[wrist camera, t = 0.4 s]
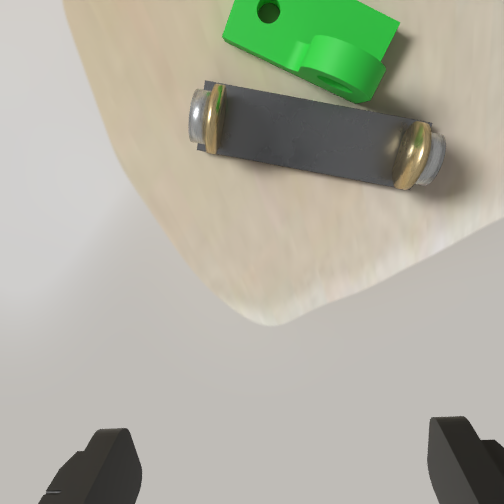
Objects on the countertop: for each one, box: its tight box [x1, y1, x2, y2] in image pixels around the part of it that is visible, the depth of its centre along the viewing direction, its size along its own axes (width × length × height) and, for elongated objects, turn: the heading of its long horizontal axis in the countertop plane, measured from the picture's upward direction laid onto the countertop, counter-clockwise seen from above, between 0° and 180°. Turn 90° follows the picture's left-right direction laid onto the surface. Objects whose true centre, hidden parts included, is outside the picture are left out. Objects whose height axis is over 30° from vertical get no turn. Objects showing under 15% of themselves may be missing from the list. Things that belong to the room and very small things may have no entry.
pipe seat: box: [189, 81, 446, 190], centre depth 28 cm, size 6×19×6 cm, turn 80°
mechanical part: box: [222, 0, 400, 104], centre depth 25 cm, size 12×6×8 cm, turn 66°
